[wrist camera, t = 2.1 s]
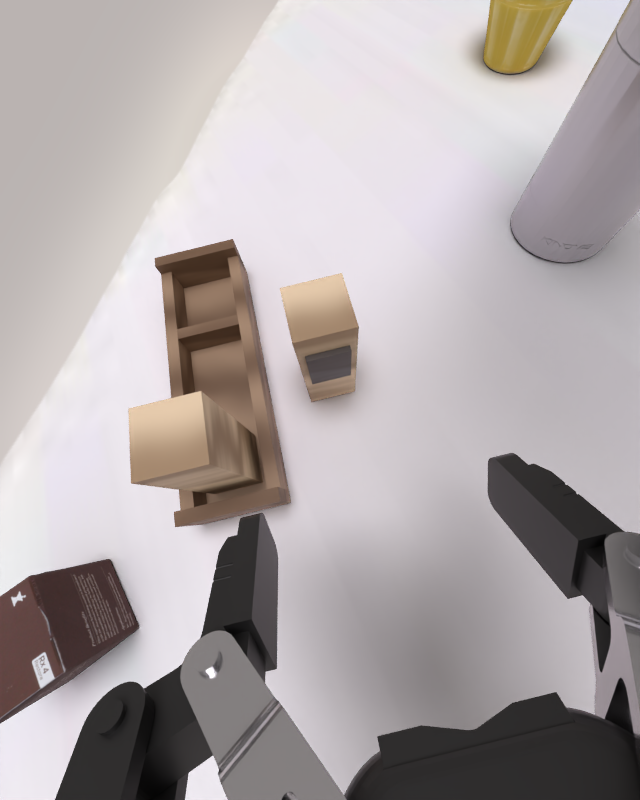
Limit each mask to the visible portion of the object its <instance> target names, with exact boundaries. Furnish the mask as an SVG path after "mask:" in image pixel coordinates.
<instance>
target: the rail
mask: <svg viewBox="0 0 640 800" xmlns="http://www.w3.org/2000/svg"><path fill="white" fill-rule="evenodd" d="M155 267H156V268H157V269H158V271H159V272H160V273H161V277H162V289H163V301H164V314H165V326H166V338H167V350H168V362H169V374H170V386H171V398H170V399H166V400H162V401H158V402H154V403H150V404H146V405H142V406H137V407H133V408H129V436H130V464H131V483H132V484H140V485H148V486H155V487H163V488H171V489H179V496H180V508H181V511H176V512H174V519H175V527H180V526H191V525H202V524H206V523H210V522H214V521H218V520H223V519H227V518H231V517H235V516H239V515H243V514H247V513H251V512H255V511H259V510H263V509H267V508H271V507H276V506H280V505H284V504H288V503H291V500H290V495H289V490H288V485H287V479H286V474H285V469H284V464H283V458H282V453H281V448H280V443H279V438H278V432H277V427H276V422H275V417H274V412H273V406H272V401H271V396H270V391H269V385H268V380H267V375H266V370H265V365H264V359H263V354H262V349H261V344H260V338H259V333H258V328H257V323H256V318H255V312H254V307H253V302H252V297H251V292H250V286H249V281H248V276H247V272H246V269H245V267H244V264H243V262H242V260H241V257H240V255H239V253H238V250H237V248H236V245H235V243H234V241H233V239H231V240H227V241H223V242H219V243H215V244H211V245H207V246H203V247H199V248H195V249H191V250H187V251H183V252H178V253H174V254H170V255H166V256H162V257H158V258H155Z"/></svg>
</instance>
